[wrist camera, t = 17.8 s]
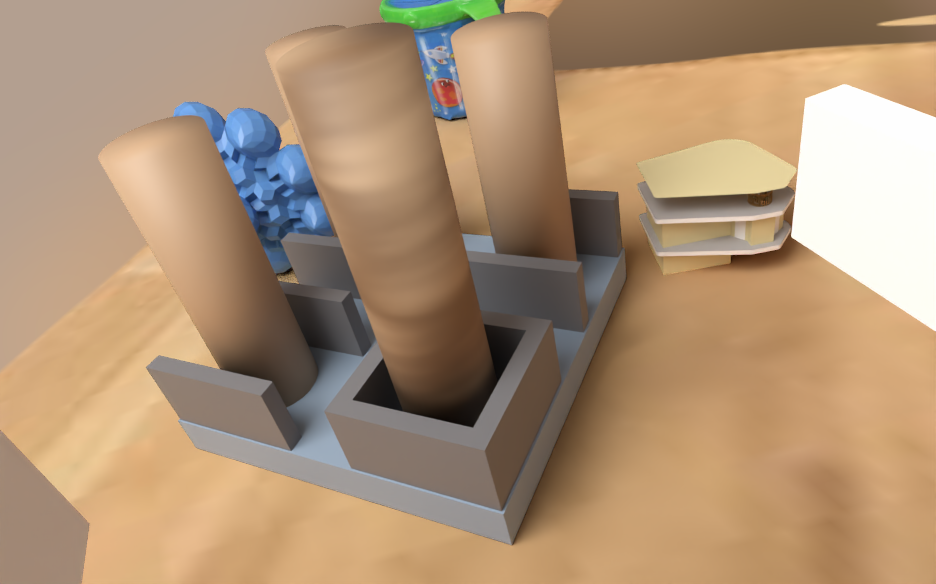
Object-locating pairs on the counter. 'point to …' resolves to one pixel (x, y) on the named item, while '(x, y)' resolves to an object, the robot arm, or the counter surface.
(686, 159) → the tiered building model
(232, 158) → the grapes
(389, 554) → the counter surface
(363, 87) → the loose leg
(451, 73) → the snack cup
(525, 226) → the stool
